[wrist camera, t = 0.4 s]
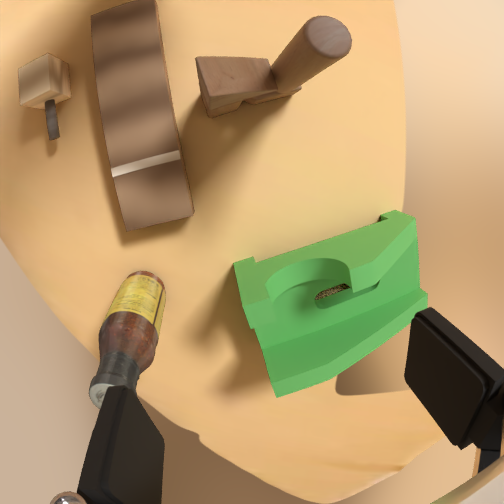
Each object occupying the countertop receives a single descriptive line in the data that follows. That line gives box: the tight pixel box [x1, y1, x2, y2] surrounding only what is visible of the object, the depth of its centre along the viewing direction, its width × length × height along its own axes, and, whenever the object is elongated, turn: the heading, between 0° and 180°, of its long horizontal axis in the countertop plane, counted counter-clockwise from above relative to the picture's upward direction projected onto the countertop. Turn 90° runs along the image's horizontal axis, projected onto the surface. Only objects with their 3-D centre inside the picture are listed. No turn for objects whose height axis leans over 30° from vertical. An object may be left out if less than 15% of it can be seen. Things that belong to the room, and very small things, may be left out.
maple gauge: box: [18, 53, 71, 140], centre depth 26 cm, size 10×4×6 cm, turn 10°
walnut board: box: [91, 0, 194, 231], centre depth 30 cm, size 28×8×3 cm, turn 10°
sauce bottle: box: [89, 271, 166, 409], centre depth 29 cm, size 7×6×20 cm
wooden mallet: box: [195, 16, 352, 118], centre depth 24 cm, size 4×11×18 cm, turn 108°
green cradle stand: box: [233, 210, 428, 398], centre depth 36 cm, size 24×13×12 cm, turn 107°
